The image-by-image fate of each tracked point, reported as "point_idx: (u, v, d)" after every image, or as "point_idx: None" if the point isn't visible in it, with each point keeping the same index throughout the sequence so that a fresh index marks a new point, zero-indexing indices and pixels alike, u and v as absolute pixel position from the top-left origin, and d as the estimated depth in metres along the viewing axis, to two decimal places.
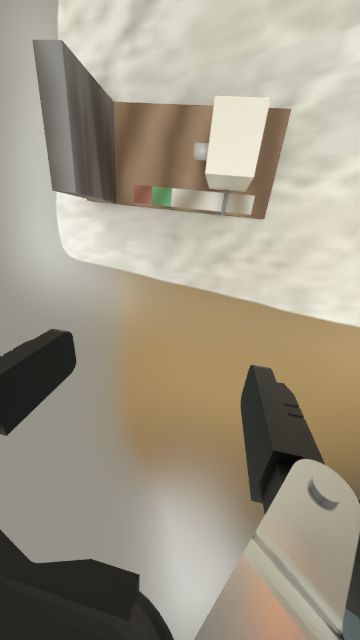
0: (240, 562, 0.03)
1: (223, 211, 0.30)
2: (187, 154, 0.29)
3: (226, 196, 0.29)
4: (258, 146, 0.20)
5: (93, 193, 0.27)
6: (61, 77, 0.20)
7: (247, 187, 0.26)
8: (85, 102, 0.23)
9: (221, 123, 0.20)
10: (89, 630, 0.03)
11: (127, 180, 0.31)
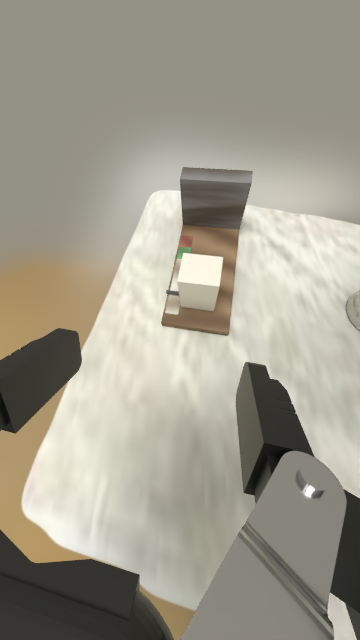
0: (230, 552, 0.03)
1: (168, 291, 0.38)
2: None
3: (178, 293, 0.38)
4: (194, 282, 0.29)
5: (183, 199, 0.39)
6: (236, 180, 0.34)
7: None
8: (230, 199, 0.37)
9: (209, 261, 0.30)
10: (89, 630, 0.03)
11: (196, 233, 0.44)
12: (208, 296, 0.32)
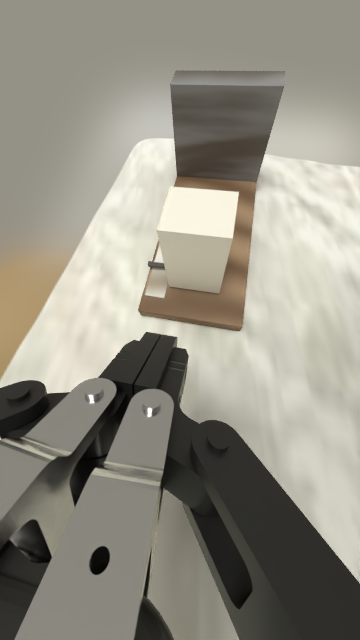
0: (84, 489, 0.03)
1: (151, 263, 0.25)
2: None
3: None
4: (187, 231, 0.16)
5: (177, 127, 0.26)
6: (259, 83, 0.21)
7: None
8: (247, 123, 0.24)
9: (214, 198, 0.17)
10: None
11: (195, 186, 0.31)
12: (212, 262, 0.19)
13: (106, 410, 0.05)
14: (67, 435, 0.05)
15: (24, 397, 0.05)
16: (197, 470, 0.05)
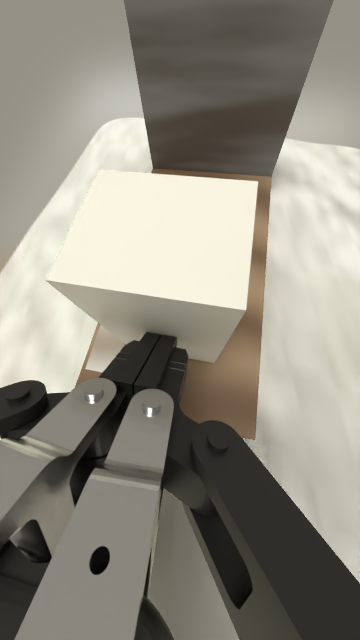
0: (84, 489, 0.03)
1: None
2: None
3: None
4: (124, 286, 0.06)
5: (144, 83, 0.16)
6: None
7: None
8: (263, 72, 0.14)
9: (198, 196, 0.07)
10: None
11: None
12: (197, 336, 0.09)
13: (106, 410, 0.05)
14: (67, 435, 0.05)
15: (24, 397, 0.05)
16: (197, 470, 0.05)
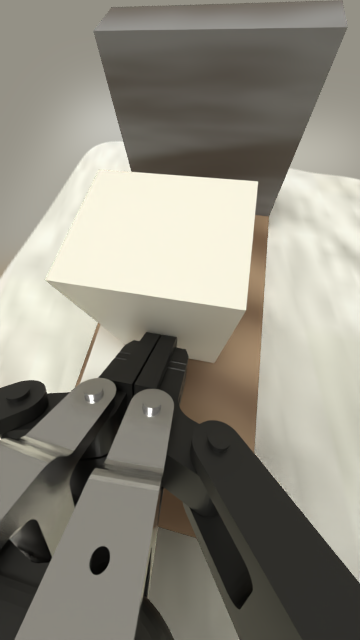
0: (84, 489, 0.03)
1: None
2: None
3: None
4: (124, 286, 0.06)
5: (125, 123, 0.14)
6: (289, 23, 0.09)
7: None
8: (258, 116, 0.12)
9: (198, 196, 0.07)
10: None
11: None
12: (197, 336, 0.09)
13: (106, 410, 0.05)
14: (67, 435, 0.05)
15: (24, 397, 0.05)
16: (197, 470, 0.05)
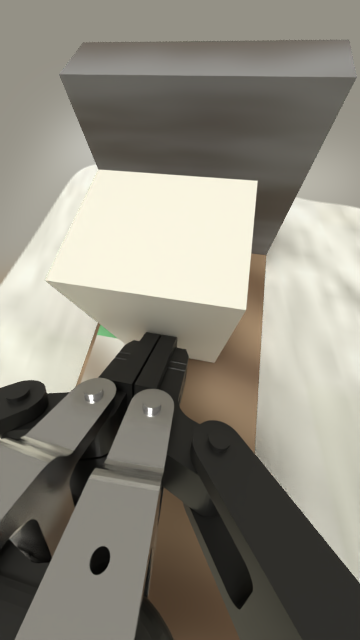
0: (84, 489, 0.03)
1: None
2: None
3: None
4: (124, 286, 0.06)
5: (104, 166, 0.12)
6: (287, 70, 0.08)
7: None
8: (252, 163, 0.11)
9: (197, 196, 0.07)
10: None
11: None
12: (197, 336, 0.09)
13: (106, 410, 0.05)
14: (67, 435, 0.05)
15: (24, 397, 0.05)
16: (197, 470, 0.05)
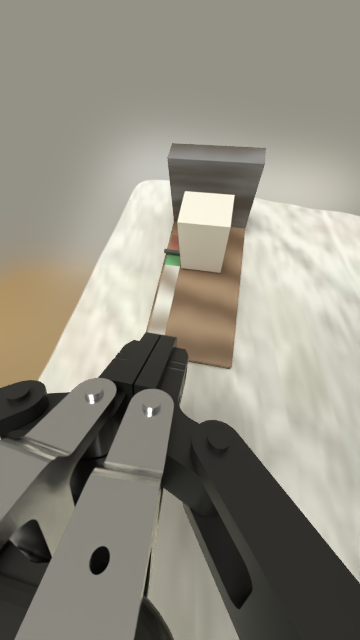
0: (84, 489, 0.03)
1: (167, 250, 0.32)
2: (204, 279, 0.31)
3: (178, 252, 0.32)
4: (199, 223, 0.23)
5: (173, 187, 0.30)
6: (244, 160, 0.25)
7: (180, 253, 0.28)
8: (235, 187, 0.28)
9: (217, 199, 0.24)
10: None
11: None
12: (216, 246, 0.26)
13: (106, 410, 0.05)
14: (67, 435, 0.05)
15: (24, 397, 0.05)
16: (197, 470, 0.05)
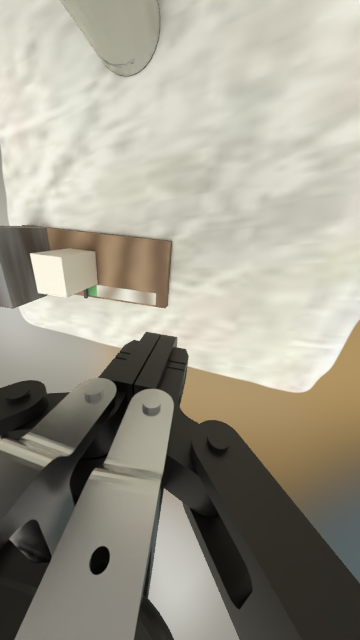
0: (84, 489, 0.03)
1: (85, 296, 0.40)
2: (103, 264, 0.38)
3: None
4: (63, 281, 0.31)
5: (31, 298, 0.36)
6: None
7: None
8: (16, 247, 0.32)
9: (38, 267, 0.30)
10: None
11: None
12: (76, 263, 0.32)
13: (106, 410, 0.05)
14: (67, 435, 0.05)
15: (24, 397, 0.05)
16: (197, 470, 0.05)
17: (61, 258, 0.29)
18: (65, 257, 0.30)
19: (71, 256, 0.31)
